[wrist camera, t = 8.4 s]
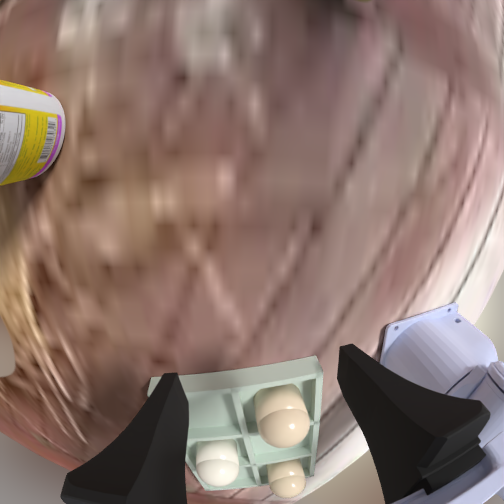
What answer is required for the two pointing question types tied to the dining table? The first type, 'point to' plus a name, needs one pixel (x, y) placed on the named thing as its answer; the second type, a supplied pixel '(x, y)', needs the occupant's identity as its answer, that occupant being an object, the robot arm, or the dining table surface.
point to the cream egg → (217, 462)
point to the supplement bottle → (28, 131)
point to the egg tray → (249, 416)
